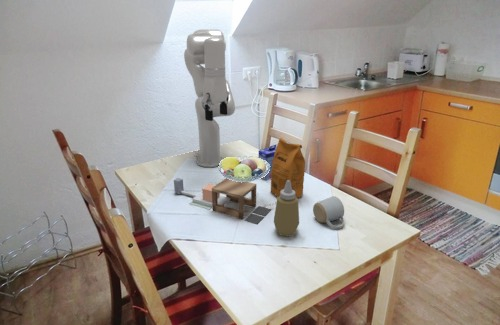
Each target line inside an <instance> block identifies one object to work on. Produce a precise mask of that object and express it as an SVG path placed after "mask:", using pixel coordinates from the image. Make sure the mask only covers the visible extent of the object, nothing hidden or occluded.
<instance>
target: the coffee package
mask: <svg viewBox="0 0 500 325" xmlns="http://www.w3.org/2000/svg"><path fill="white" fill-rule="evenodd" d="M276 147H277V148H276V151H275V154H274V158H273V162H272V170H271V178H270V193H271V194H273V195H275V196H276V198H278V197H279V196H280V191H281V190H283V189H284V188H285V185H286V181H287V180H290V182H291V187H292V190H294V191H295V193H296V194H295V197H296V198H301V197H302V196H303V195H304V181H305V170H306V160H305V157H304V154H303V152H302V148H303V145H302V144H298V143H290V142H287V141H286V140H285V139H284V138H282V137H280V138H279V139H278V142H277V145H276Z"/></svg>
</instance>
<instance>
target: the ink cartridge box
mask: <svg viewBox="0 0 500 325" xmlns="http://www.w3.org/2000/svg"><path fill="white" fill-rule="evenodd" d="M277 145H278V143H277V144H272V145H270V146H269V147H268V148H262V149H259V150H258V158H261V159H263V160H266V161H267V162H268V163H269V164H270V166H271V167H270V171H269V173H268V174H267V175H266V176H265V177H263V178H261V179H262V180H264V181H267V180H271V170H272V162H273V158H274V154H275V151H276V148H277Z"/></svg>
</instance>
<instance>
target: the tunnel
mask: <svg viewBox="0 0 500 325" xmlns="http://www.w3.org/2000/svg"><path fill="white" fill-rule="evenodd" d="M215 185H216V186H214V187H213V188H212V206H213V207H212V212H215V213H218V214H222V215H225V216H229V217H232V218H236V219H239V220H244V218H245V206H247V207H250V208H255V209H256V208H257V183H254V182H251V181H250V182H249V181H246V182H242V183H241V182H236V181H232V180H229V179H227V177H226V178H224V179H222V181H220V182H218V183H217V184H215ZM217 192H218V193H220V194H223V195H225V197H228V198H230V201H229V202H231V201H232V203H234V204H235V203H236V204H238V209H236V208H232V207H229V206H226V205H225V206H222V205H218V200H217ZM249 193H250V195H251V196H250V197H251V198H250V197H246V196H248V194H249Z"/></svg>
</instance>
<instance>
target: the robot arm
mask: <svg viewBox="0 0 500 325" xmlns="http://www.w3.org/2000/svg"><path fill="white" fill-rule="evenodd" d="M226 47H227V44H226V40H225V36H224V33H223V32H222V31H221V30H220V29H197V30H195V31H194V32H193V33H190V34H188V35H187V37H186V49H185V50H184V53H183V59H184V63H185V66H186V67H185V68H186V70H187V71H188V73H189V74H190V76H191V78H192V82H193V87H194V91H195V94H196V97H197V98H196V100H195V102H194V107H195V113H196V117H197V118H196V119H197V126H198V144H199V145H198V146H199V151H198V150H195V151H194V154H193V157H197V160H196V163H197V165H198V166H199V167H202V168H215V167H219V166H218V165H219V163H220V161H221V160H222V159H224V158H223V157H221V140H220V139H221V134H220V133H221V131H220V129H221V128H220V125H219V123H218V122H217V121H216V119H215V118H218V117H221V118H222V117H229V116H232V115H233V114H235V111H236V104H235V100H234V97H233V92H232V89H231V85H230V83H229V80H227V79H226V78H227V76H226V49H227V48H226ZM203 65H204V66H203Z"/></svg>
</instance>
